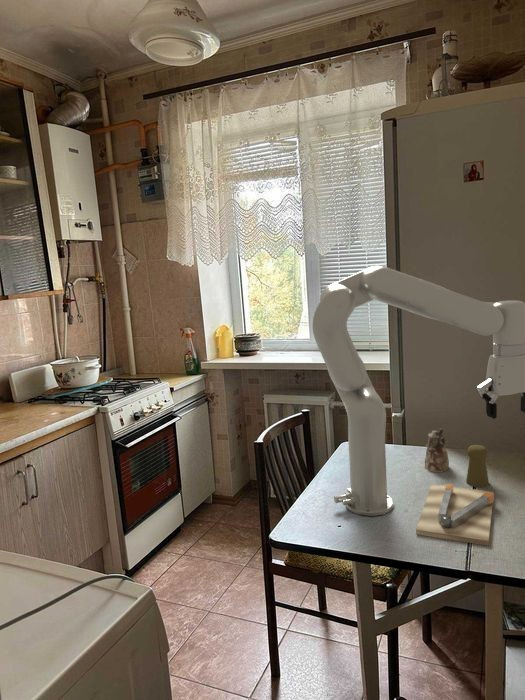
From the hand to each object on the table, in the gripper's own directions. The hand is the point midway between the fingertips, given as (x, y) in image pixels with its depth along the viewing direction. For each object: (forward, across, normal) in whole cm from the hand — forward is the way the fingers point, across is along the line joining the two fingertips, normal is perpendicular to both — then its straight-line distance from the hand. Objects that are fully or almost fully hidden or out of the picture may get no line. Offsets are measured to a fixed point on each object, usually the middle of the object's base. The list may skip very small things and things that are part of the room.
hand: (508, 414), depth 136 cm
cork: (+24, +2, -11) cm, 26 cm away
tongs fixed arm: (+22, +18, +1) cm, 29 cm away
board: (+23, +17, +3) cm, 29 cm away
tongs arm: (+22, +15, +6) cm, 27 cm away
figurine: (+23, +7, -25) cm, 35 cm away
